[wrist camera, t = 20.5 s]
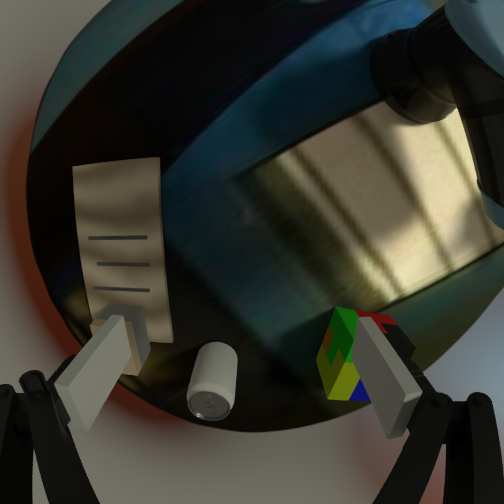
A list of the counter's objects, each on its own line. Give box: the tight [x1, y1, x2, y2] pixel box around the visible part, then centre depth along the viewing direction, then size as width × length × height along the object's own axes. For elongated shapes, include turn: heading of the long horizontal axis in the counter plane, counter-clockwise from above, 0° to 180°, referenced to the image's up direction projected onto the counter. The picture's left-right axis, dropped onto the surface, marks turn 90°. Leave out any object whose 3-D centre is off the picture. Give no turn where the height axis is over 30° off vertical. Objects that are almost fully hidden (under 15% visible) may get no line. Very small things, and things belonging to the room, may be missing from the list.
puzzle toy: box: [316, 307, 416, 401], centre depth 41 cm, size 10×10×10 cm
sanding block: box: [90, 305, 151, 376], centre depth 41 cm, size 8×6×7 cm
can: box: [187, 342, 237, 421], centre depth 41 cm, size 6×6×12 cm
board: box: [73, 157, 174, 343], centre depth 42 cm, size 28×14×1 cm, turn 0°
